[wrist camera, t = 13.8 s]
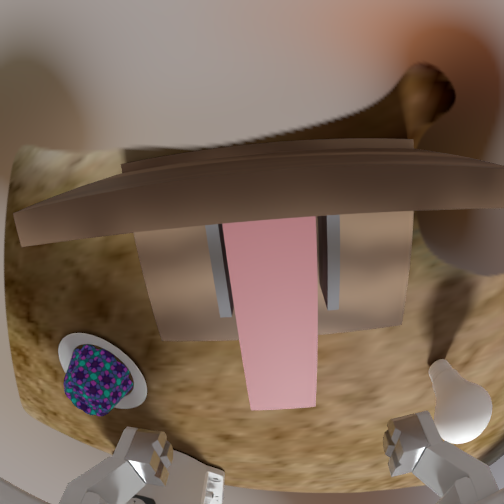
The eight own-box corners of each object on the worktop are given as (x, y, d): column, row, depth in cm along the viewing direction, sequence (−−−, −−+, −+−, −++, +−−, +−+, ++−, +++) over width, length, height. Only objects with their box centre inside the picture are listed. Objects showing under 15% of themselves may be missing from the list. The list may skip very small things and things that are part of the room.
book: (304, 326, 26) (315, 406, 17) (257, 329, 26) (251, 410, 17) (297, 182, 21) (315, 213, 13) (240, 187, 22) (221, 221, 13)
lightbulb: (425, 340, 27) (470, 418, 17) (466, 341, 27) (512, 408, 17) (403, 383, 29) (433, 460, 19) (443, 382, 29) (477, 449, 19)
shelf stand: (398, 318, 26) (454, 423, 14) (164, 334, 28) (114, 442, 16) (407, 138, 20) (524, 154, 8) (126, 163, 22) (9, 198, 10)
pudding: (49, 322, 29) (25, 347, 24) (137, 336, 29) (117, 369, 24) (78, 394, 34) (62, 420, 29) (158, 411, 33) (146, 443, 28)
